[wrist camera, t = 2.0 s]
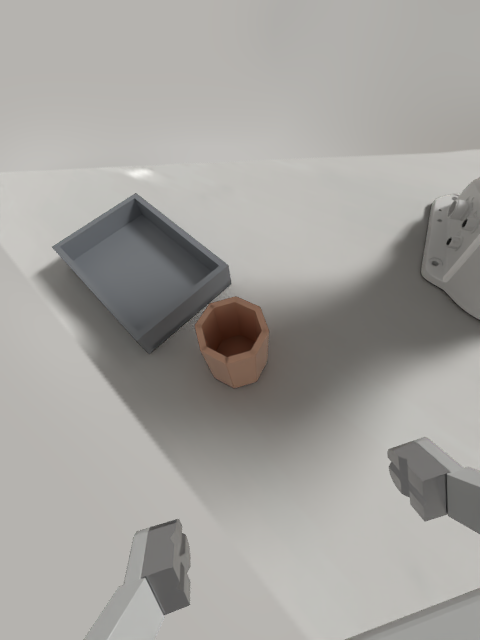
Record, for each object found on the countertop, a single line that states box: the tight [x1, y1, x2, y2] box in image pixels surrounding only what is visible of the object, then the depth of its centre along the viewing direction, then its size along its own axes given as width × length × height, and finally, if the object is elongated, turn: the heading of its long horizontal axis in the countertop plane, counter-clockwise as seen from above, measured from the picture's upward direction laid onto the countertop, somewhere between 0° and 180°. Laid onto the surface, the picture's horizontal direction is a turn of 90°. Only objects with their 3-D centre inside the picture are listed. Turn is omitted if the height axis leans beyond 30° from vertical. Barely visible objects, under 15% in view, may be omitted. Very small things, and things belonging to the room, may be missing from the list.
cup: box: [195, 296, 269, 388], centre depth 30 cm, size 6×6×8 cm
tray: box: [52, 193, 231, 354], centre depth 39 cm, size 20×14×4 cm
